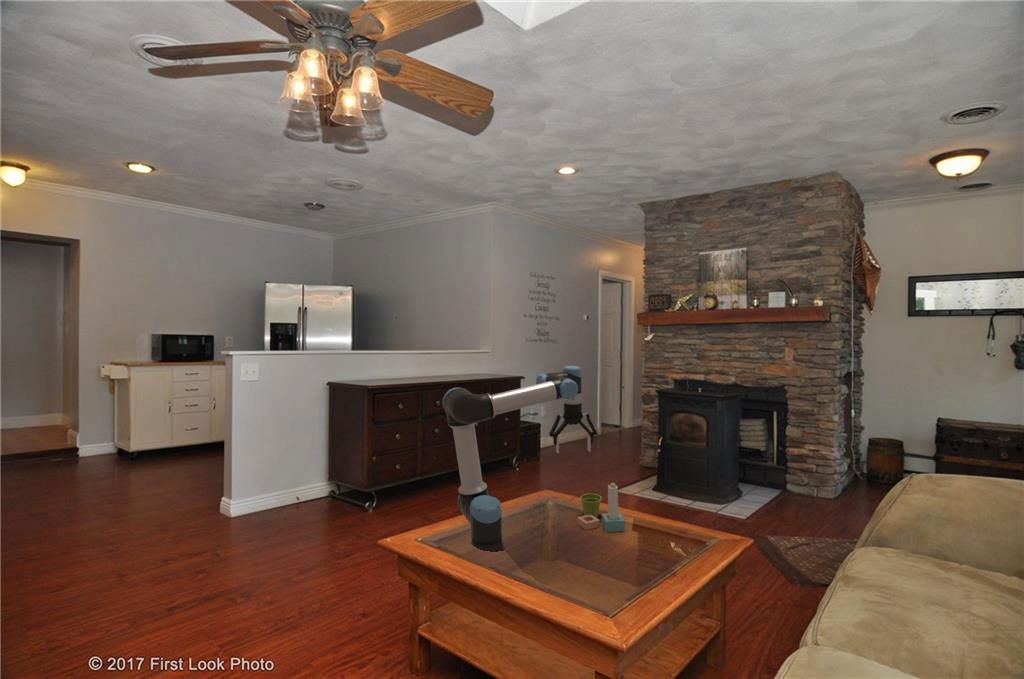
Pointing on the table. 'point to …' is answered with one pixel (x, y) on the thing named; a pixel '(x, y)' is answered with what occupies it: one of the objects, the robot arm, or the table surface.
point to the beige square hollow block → (588, 522)
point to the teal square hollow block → (613, 523)
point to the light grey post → (612, 502)
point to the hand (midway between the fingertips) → (573, 451)
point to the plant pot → (591, 504)
